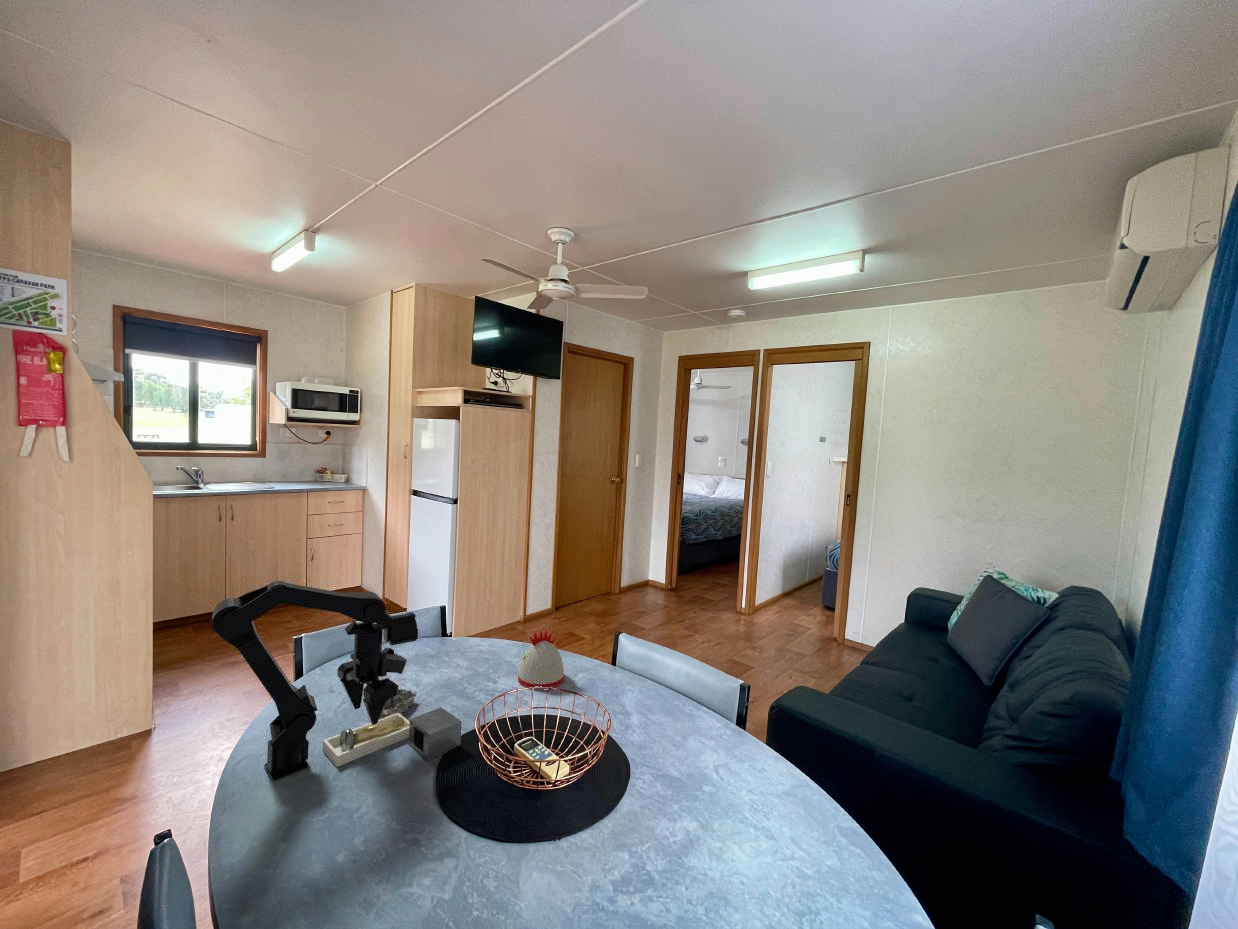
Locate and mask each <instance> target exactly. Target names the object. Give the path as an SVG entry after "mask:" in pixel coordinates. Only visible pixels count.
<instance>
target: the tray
mask: <svg viewBox="0 0 1238 929" xmlns="http://www.w3.org/2000/svg"><path fill="white" fill-rule="evenodd" d="M399 717H402V718H403V719H404V728H403V729H401V730H399V731H396V732H393V733H390V734H387V735H384V736H381V737H378V738H375V739H372V740H369V741H366V742H363V743H360V744H357V745H354V748H353V749H351V750H348V751H346V752H343V751H342V750H341V747H340V735H341V733H339V734H337V735H334V736H332V737H329V738H326V739H323V740H322V752H324V754H325V755H326V756H327V758H329V760H330V761H331V762H332V763H333V764H334V765H335V766H336V767H337V768H339V767H340V766H342V765H345V764H347V763H351V762H352V761H355V760H357V759H360V758H362V757H365V756H367V755H369V754H371V753H375V752H377V751H380V750H381V749H384V748H386V747H389V746H391V745H393V744H397V743H398V742H400V741H403V740H405V739H409V721H410V720H408V719H407V718H406V717H405V716H403V714H402V715H401V714H399V713H396V714H393V715H391V716H388V717H385V718H381V719H379V720H378V723H377V724H380V723H383V722H386V721H389V720H393V719H396V718H399ZM377 724H374V725H377ZM374 725H372V723H371V722H370V723H366V724H364V725H361V726H358V727H356V728H352V729H351V730H352V731H353V732H354V731H358V730H361V729H364V728H367V727H370V726H374Z"/></svg>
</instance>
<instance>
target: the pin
mask: <svg viewBox="0 0 1238 929" xmlns="http://www.w3.org/2000/svg"><path fill="white" fill-rule="evenodd" d="M403 728H404V719H403V718H402V717H399V718H396V719H393V720H389V721H386V722H383V723H380V724H377V725H374V726H370V727H367V728H364V729H361V730H358V731H354V732H353V731H352V730H353V729H351V728H347V729H344V730H342V731H341V732H340V734H341V735H340V747H341V750H342V751H343V752H346V751H348V750H351V749H353V748H354V745H357V744H360V743H363V742H366V741H369V740H372V739H375V738H378V737H381V736H384V735H387V734H390V733H393V732H396V731H399V730H401V729H403Z"/></svg>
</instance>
